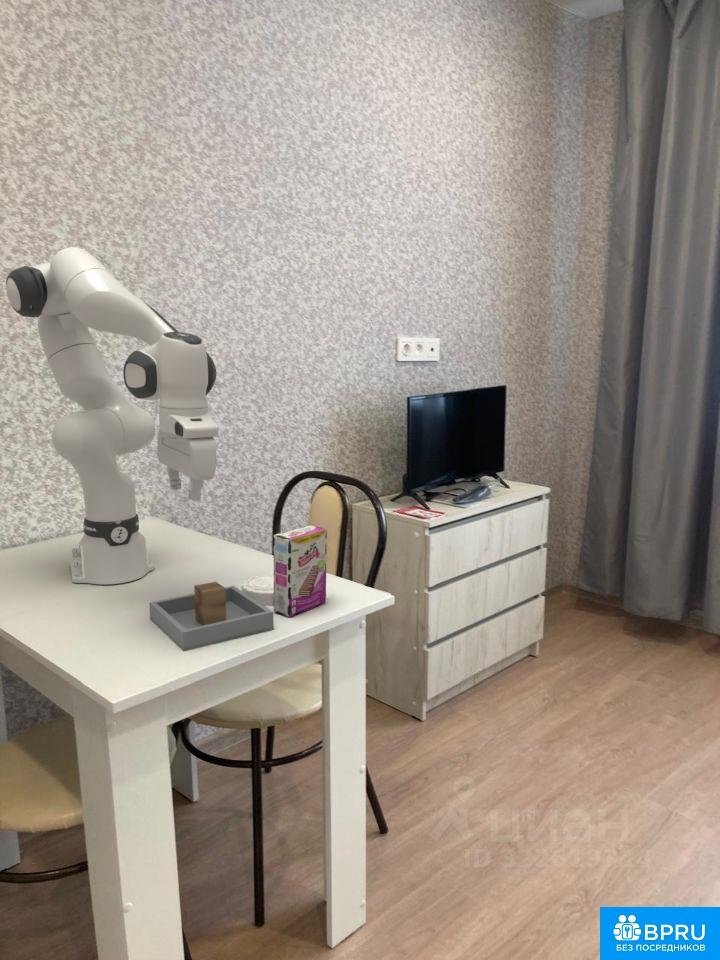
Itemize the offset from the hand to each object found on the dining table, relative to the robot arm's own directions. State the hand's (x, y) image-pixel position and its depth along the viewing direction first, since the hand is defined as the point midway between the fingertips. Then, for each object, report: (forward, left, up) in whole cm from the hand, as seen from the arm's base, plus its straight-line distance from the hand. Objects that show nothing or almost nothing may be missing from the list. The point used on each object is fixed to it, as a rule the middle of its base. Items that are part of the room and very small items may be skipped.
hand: (184, 494), depth 141 cm
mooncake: (-5, +20, -26) cm, 33 cm away
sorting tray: (+3, +3, -26) cm, 26 cm away
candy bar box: (+5, +22, -26) cm, 34 cm away
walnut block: (+3, +3, -25) cm, 25 cm away
